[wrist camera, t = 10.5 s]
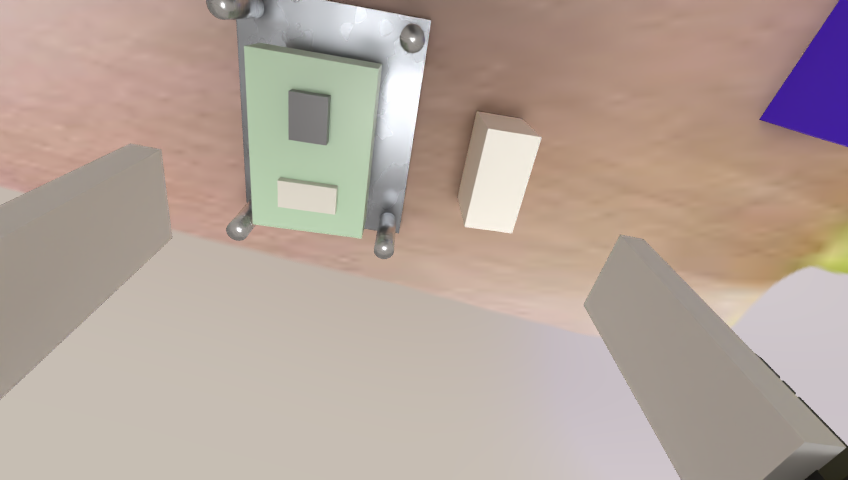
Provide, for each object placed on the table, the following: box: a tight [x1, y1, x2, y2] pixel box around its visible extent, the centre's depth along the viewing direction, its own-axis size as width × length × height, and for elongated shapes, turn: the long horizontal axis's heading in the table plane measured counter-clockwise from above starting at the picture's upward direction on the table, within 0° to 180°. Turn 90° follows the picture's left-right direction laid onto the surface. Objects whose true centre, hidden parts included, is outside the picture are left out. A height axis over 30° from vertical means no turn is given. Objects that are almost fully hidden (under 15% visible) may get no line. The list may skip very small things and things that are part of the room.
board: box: [244, 43, 382, 238], centre depth 28 cm, size 12×8×4 cm, turn 171°
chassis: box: [206, 0, 431, 259], centre depth 31 cm, size 18×14×7 cm
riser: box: [457, 111, 542, 233], centre depth 33 cm, size 8×4×6 cm, turn 171°
